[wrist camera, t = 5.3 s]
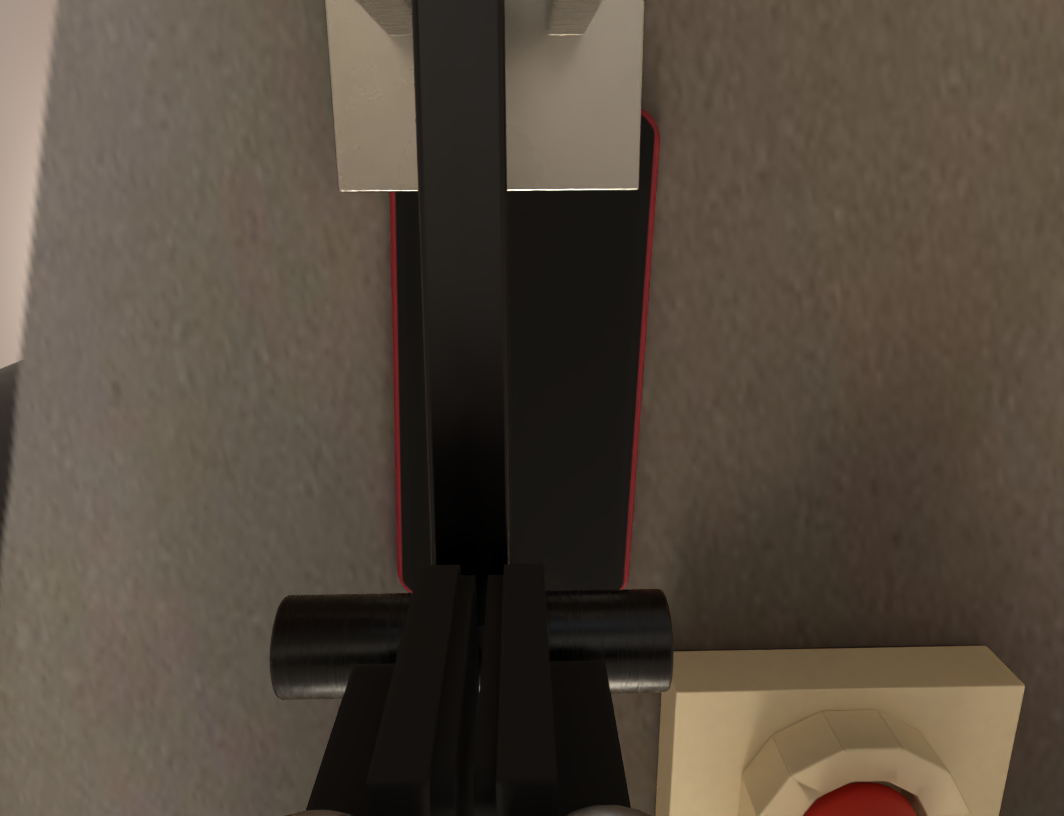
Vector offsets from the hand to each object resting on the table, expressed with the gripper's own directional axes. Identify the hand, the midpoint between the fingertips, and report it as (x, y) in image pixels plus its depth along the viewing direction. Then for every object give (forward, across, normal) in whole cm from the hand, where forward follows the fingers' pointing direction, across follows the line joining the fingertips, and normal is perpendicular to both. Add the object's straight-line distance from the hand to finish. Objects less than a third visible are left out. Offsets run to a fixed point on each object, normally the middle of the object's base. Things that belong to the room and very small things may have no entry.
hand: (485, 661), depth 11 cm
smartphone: (+14, 0, 0) cm, 15 cm away
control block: (+14, -11, +13) cm, 22 cm away
